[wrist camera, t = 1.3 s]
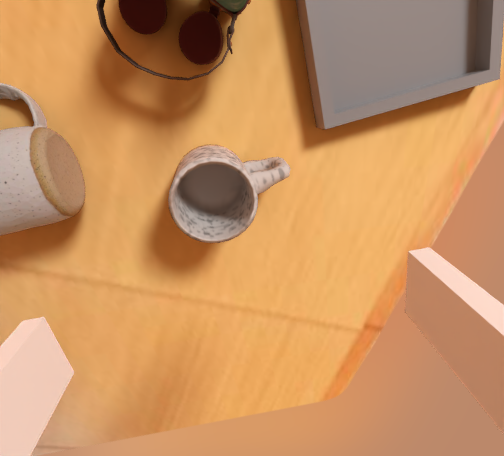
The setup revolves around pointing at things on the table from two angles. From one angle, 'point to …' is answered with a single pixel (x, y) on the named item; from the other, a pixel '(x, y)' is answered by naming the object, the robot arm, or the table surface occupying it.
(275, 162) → the mug
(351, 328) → the table surface
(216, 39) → the binoculars
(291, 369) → the table surface
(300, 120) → the table surface
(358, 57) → the tray
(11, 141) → the ceramic mug
